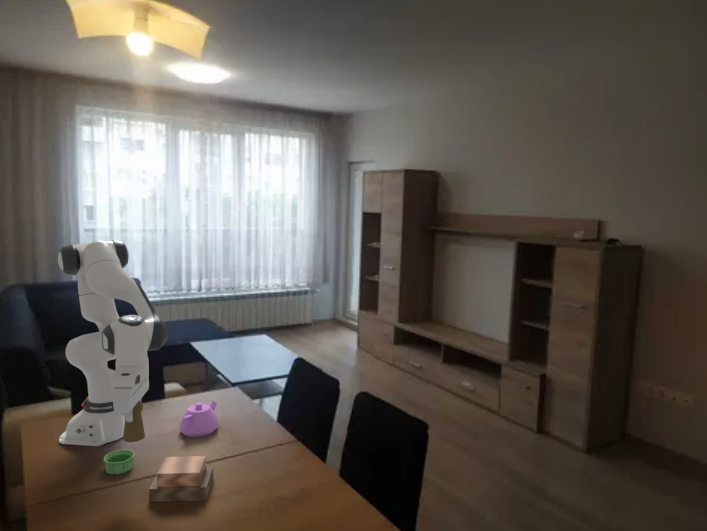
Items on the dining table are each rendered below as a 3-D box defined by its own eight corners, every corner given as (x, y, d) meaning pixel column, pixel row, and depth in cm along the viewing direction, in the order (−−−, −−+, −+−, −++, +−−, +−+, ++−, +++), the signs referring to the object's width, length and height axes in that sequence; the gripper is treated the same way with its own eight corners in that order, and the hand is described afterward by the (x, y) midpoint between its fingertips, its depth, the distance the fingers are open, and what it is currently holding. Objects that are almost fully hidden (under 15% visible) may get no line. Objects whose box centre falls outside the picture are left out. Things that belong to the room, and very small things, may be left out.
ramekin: (104, 464, 167) (104, 451, 166) (134, 459, 170) (134, 447, 170) (103, 478, 159) (102, 464, 158) (134, 472, 162) (134, 459, 162)
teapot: (230, 422, 201) (230, 396, 200) (200, 444, 183) (199, 415, 181) (200, 417, 206) (200, 391, 205) (167, 437, 187) (167, 409, 186)
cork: (137, 443, 147) (136, 407, 146) (118, 440, 148) (117, 404, 147) (149, 434, 153) (148, 399, 152) (131, 431, 154) (130, 397, 153)
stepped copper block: (149, 502, 146) (148, 475, 145) (160, 480, 158) (160, 455, 157) (206, 500, 148) (206, 474, 147) (213, 478, 160) (213, 454, 159)
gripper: (132, 360, 158) (133, 403, 160) (108, 383, 138) (109, 432, 140) (153, 360, 159) (154, 403, 161) (132, 383, 139) (133, 432, 140)
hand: (133, 416), depth 150 cm, fingers closed on cork, 4 cm apart
